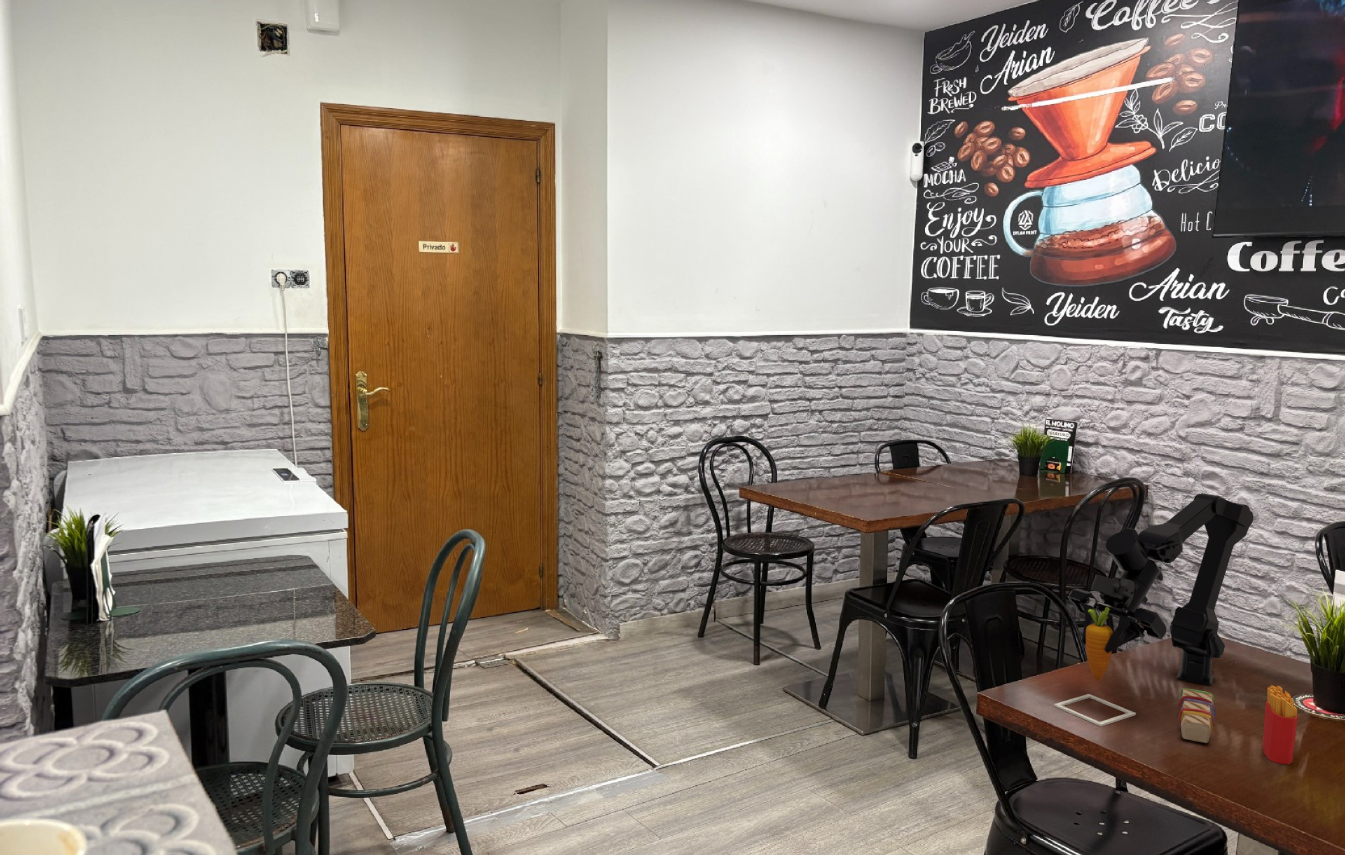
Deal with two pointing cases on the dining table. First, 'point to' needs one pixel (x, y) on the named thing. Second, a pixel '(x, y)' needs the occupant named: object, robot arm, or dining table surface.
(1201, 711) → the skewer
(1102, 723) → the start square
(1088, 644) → the carrot
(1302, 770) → the dining table surface
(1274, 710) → the french fries
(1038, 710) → the dining table surface
